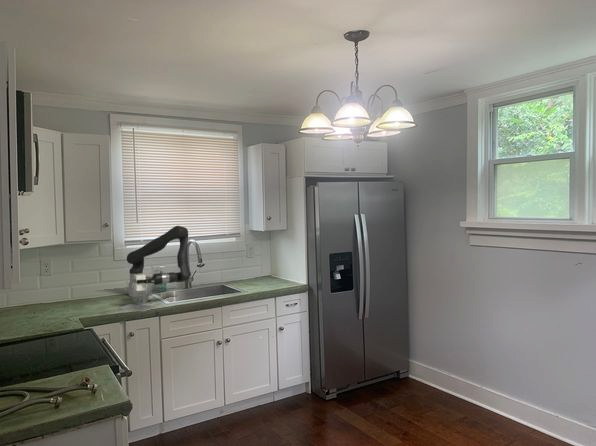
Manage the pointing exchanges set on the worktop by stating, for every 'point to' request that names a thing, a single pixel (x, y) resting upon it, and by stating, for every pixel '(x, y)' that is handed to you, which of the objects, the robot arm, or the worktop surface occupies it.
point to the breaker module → (141, 285)
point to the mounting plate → (137, 307)
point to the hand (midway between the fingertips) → (135, 281)
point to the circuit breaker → (141, 294)
